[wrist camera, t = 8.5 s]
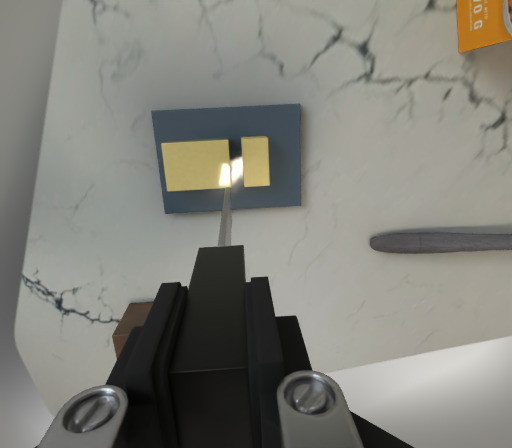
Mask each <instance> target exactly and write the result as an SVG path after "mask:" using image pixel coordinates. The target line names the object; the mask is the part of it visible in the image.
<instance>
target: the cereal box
mask: <svg viewBox="0 0 512 448" xmlns="http://www.w3.org/2000/svg"><path fill="white" fill-rule="evenodd" d="M457 22H458V46H459V53H461V52H465V51H469V50H473V49H477V48H481V47H485V46H489V45H493V44H497V43H502V42H506V41H510V40H512V0H457Z"/></svg>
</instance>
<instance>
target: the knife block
mask: <svg viewBox="0 0 512 448" xmlns="http://www.w3.org/2000/svg"><path fill="white" fill-rule="evenodd" d="M152 305H153V302H144V303H130V304H129V306H128V308H127V310H126V311H125V313H124V315H123V317H122V319H121V321H120V322H119V324H118V326H117V328H116V330H115V332H114V333H113V335H112V337H113V342H114V347H115V352H116V356H117V359H118V357H119V355H120V353H121V351H122V349H123V347H124V344H125V342H126V340H127V338H128V336H129V334H130V332H131V330H132V328H133V327H135V326H144V323H145V321H146V319H147V316H148V314H149V312H150V309H151V307H152Z"/></svg>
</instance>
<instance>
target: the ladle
mask: <svg viewBox="0 0 512 448" xmlns="http://www.w3.org/2000/svg"><path fill="white" fill-rule="evenodd" d="M370 246H371V248H372V249H374V250H377V251H381V252H388V253H407V254H418V253H445V252H460V251H485V250H512V234H463V233H397V234H389V235H384V236H379V237H375V238H372V239H371V242H370Z"/></svg>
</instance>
